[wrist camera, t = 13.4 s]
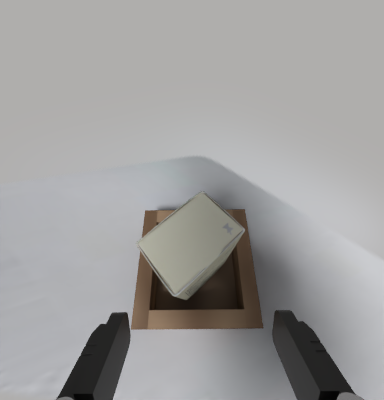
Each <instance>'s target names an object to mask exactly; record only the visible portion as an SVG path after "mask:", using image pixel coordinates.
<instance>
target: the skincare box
mask: <svg viewBox="0 0 384 400" xmlns="http://www.w3.org/2000/svg"><path fill="white" fill-rule="evenodd" d="M244 232H245V229H244V228H243V227H242V226H241V225H240V224H239V223H238V222H237V221H236V220H235V219H234V218H233V217H232V216H231V215H230V214H229V213H228V212H226V211H225V210H224V209H223V208H222V207H221V206H220V205H219V204H218V203H217V202H216V201H215V200H213V199H212V198H211V197H210V196H208V195H207V194H206V193H205V192H204V191H201V192H200V193H198V194H197V195H195V196H194V197H193V198H191V199H190V200H188V201H187V202H186V203H184V204H183V205H182V206H180V207H179V208H178V209H177V210H175V211H174V212H173V213H172V214H170V215H169V216H168V217H167V218H165V219H164V220H163V221H162V222H160V223H159V224H158V225H157V226H156V227H154V228H153V229H152V230H151V231H150V232H148V233H147V234H146V235H145V236H144V237H143V238H141V239H140V240H139V241H138V242H137V243H136V245H137V247H138V248H139V250H140V251H141V252H142V254H143V256H144V257H145V259H146V260H147V262H148V263H149V264H150V266H151V267H152V269H153V270H154V272H155V273H156V274H157V276H158V277H159V279H160V280H161V281H162V283H163V284H164V285H165V287H166V288H167V289H168V291H169V292H170V293H171V295H172V296H174V297H177V298H181V299H184V300H188V299H189V298H190V297H191V296H193V295H194V294H195V293H196V292H197V291H198V290H199V289H200V288H201V287H202V286H203V285H204V284H205V283H206V282H207V281H208V280H209V279H210V278H211V277H212V276H213V275H214V274H215V273H216V272H217V271H218V270H219V269H220V268H221V267H222V265H223V264H224V263H225V261H226V260H227V258H228V257H229V255H230V253H231V252H232V250H233V249H234V247H235V246H236V244H237V243H238V241H239V240H240V238H241V236H242V235H243V233H244Z"/></svg>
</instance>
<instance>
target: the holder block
mask: <svg viewBox="0 0 384 400" xmlns="http://www.w3.org/2000/svg"><path fill="white" fill-rule="evenodd" d="M174 211H175V210H155V211H145V217H144V226H143V234H142V238H143V237H144V236H145V235H146V234H147V233H148V232H150V231H151V230H152V229H153V228H154V227H156V226H157V225H158V224H159V223H160V222H162V221H163V220H164V219H165V218H167V217H168V216H169V215H170V214H172V213H173V212H174ZM225 211H226V212H228V213H229V214H230V215H231V216H232V217H233V218H234V219H235V220H236V221H237V222H238V223H239V224H240V225H241V226H242V227H243V228H244V229H245V232H244V233H243V235H242V236H241V238H240V240H239V241H238V243H237V244H236V246H235V247H234V249H233V250H232V252H231V253H230V255H229V257H228V258H227V260H226V261H225V263H224V264H223V265H222V267H221V268H220V269H219V270H218V271H217V272H216V273H215V274H214V275H213V276H212V277H211V278H210V279H209V280H208V281H207V282H206V283H205V284H204V285H203V286H202V287H201V288H200V289H199V290H198V291H197V292H196V293H195V294H194V295H193V296H191V297H190V298H189V299H188V300H184V299H181V298H177V297H174V296H172V295H171V293H170V292H169V291H168V289H167V288H166V287H165V285H164V284H163V283H162V281H161V280H160V279H159V277H158V276H157V274H156V273H155V272H154V270H153V269H152V267H151V266H150V264H149V263H148V262H147V260H146V259H145V257H144V256H143V254H142V252H141V251H140V259H139V267H138V275H137V283H136V292H135V300H134V308H133V316H132V325H131V329H238V328H263V323H262V316H261V310H260V304H259V297H258V291H257V284H256V278H255V272H254V265H253V259H252V253H251V246H250V240H249V233H248V227H247V221H246V214H245V209H237V210H225Z"/></svg>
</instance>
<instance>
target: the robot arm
mask: <svg viewBox="0 0 384 400" xmlns="http://www.w3.org/2000/svg"><path fill="white" fill-rule="evenodd" d="M272 335H273V341H274V345H275V347H276V350H277V352H278V355H279V357H280V359H281V362H282V364H283V367H284V369H285V371H286V374H287V376H288V379H289V381H290V383H291V386H292V388H293V391H294V393H295V395H296V398H297V400H364V399H362V398H361V397H359V396H357V395H356V394H355V393H354V392H353V390H352V389H351V387H350V386H349V384H348V383H347V381H346V380H345V378H344V377H343V375H342V374H341V372H340V371H339V369H338V367H337V366H336V364H335V363H334V361H333V360H332V358H331V357H330V355H329V354H328V353H327V352H326V349H325V348H324V346H323V345H322V343H320V340H319V339H318V337H317V336H316V334H315V333H314V331H313V330H312V329H311V328H310V327H309V326H308V325H307V324H305V323H304V322H303V321H300V322H298V321H297V319H296V317H295V316H294V314H293V312H292V311H290V310H276V311H275V314H274V323H273V331H272ZM129 344H130V328H129V320H128V314H127V312H119V313H112V314H111V316H110V318H109V320H108V322H107V324H100V325H99V326H98V327H97V329H96V330H95V331H94V332H93V333H92V334H91V336H90V338H89V340H88V342H87V343H86V346H85V347H84V349H83V351H82V353H81V356H80V357H79V359H78V360H77V362H76V364H75V366H74V368H73V370H72V372H71V374H70V376H69V377H68V379H67V381H66V383H65V385H64V387H63V389H62V391H61V393H60V394H59V396H58V397H57V399H56V400H113V397H114V393H115V390H116V387H117V384H118V380H119V377H120V374H121V371H122V368H123V364H124V361H125V358H126V355H127V351H128V348H129Z"/></svg>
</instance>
